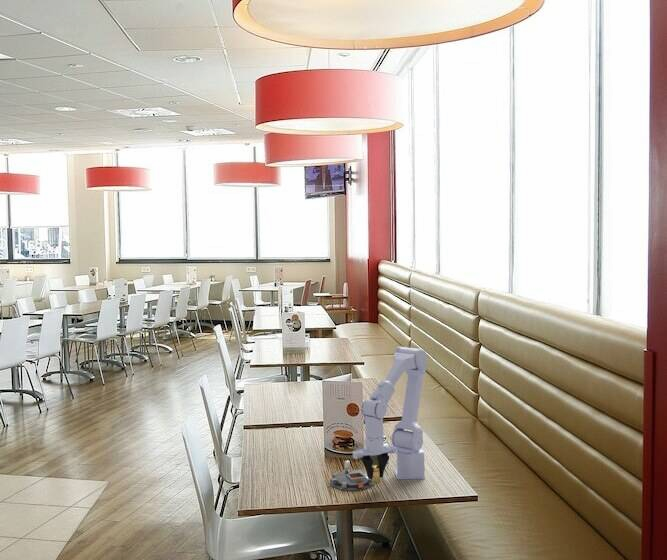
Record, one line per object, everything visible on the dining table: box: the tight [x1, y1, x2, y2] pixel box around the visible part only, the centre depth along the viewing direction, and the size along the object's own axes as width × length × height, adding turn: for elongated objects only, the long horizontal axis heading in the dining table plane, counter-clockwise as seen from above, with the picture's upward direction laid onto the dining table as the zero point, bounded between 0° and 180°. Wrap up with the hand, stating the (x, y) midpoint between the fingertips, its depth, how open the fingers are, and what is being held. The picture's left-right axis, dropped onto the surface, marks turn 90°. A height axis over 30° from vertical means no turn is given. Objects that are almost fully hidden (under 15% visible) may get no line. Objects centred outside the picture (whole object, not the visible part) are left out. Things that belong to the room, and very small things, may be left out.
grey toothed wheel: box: [331, 459, 372, 488], centre depth 243 cm, size 14×14×6 cm
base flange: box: [329, 478, 376, 492], centre depth 243 cm, size 15×15×1 cm
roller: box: [370, 464, 381, 485], centre depth 235 cm, size 3×3×5 cm
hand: (375, 477), depth 235 cm, fingers closed on roller, 3 cm apart
